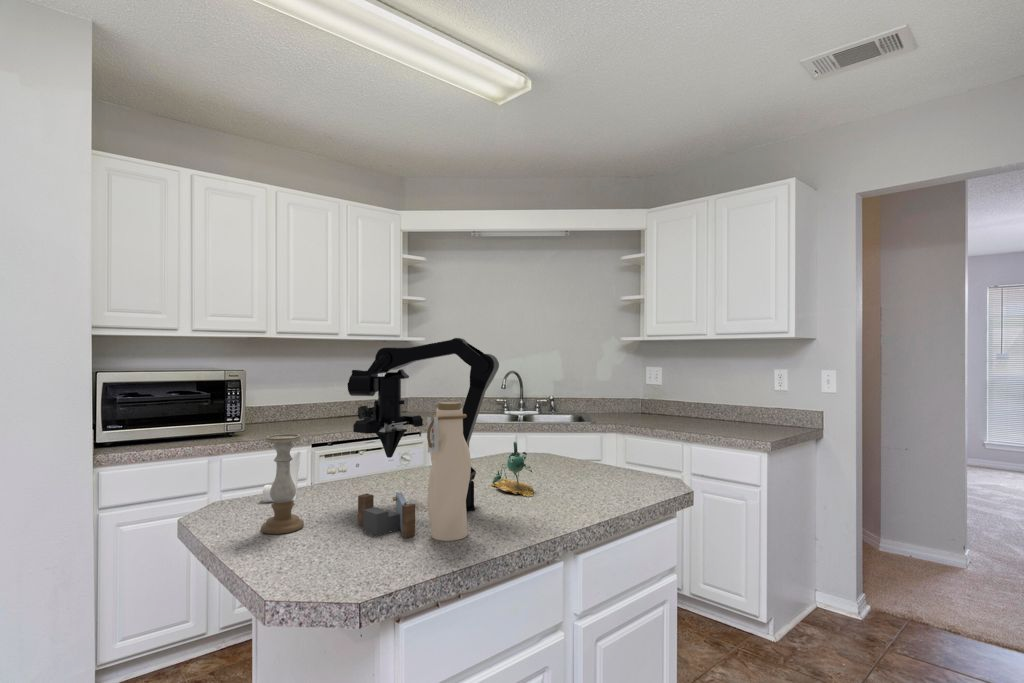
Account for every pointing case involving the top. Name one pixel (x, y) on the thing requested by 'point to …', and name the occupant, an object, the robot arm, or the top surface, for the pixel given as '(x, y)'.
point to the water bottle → (448, 473)
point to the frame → (407, 514)
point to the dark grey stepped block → (380, 521)
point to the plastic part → (294, 475)
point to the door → (399, 505)
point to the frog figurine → (514, 465)
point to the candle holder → (282, 488)
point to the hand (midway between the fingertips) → (389, 457)
